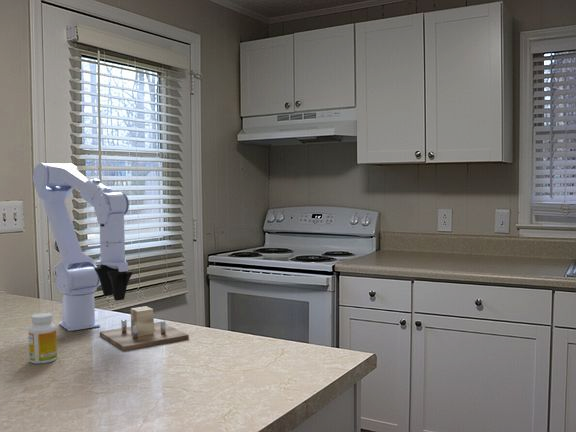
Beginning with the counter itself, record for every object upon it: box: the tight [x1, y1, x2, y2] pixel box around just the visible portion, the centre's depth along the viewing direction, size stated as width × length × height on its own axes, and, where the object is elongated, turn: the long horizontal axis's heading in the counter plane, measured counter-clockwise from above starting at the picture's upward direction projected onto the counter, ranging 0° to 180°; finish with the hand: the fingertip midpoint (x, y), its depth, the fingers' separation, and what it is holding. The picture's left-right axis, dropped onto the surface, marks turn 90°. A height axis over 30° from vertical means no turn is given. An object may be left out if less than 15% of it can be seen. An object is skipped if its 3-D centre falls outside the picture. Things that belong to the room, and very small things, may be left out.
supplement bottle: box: [28, 312, 58, 365], centre depth 123 cm, size 5×5×10 cm
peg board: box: [99, 315, 190, 352], centre depth 141 cm, size 16×16×4 cm
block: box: [130, 306, 154, 336], centre depth 140 cm, size 4×4×6 cm
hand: (113, 297), depth 142 cm, fingers open, 7 cm apart
